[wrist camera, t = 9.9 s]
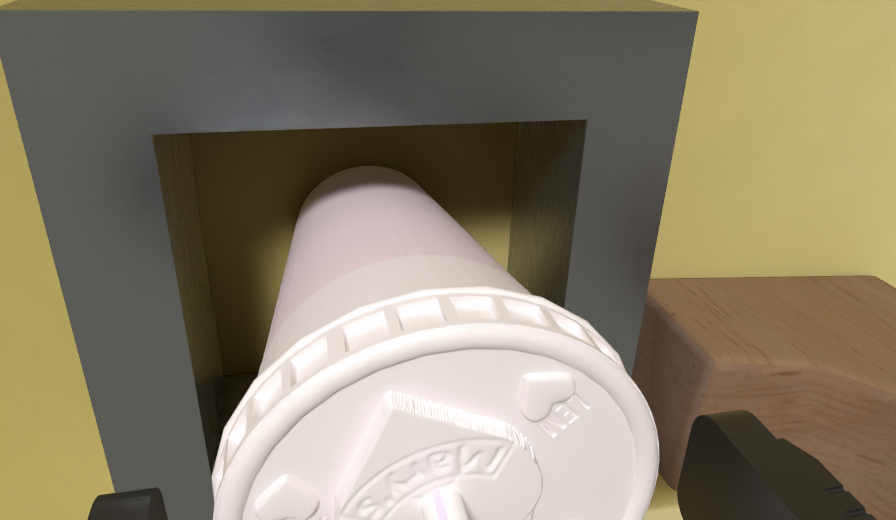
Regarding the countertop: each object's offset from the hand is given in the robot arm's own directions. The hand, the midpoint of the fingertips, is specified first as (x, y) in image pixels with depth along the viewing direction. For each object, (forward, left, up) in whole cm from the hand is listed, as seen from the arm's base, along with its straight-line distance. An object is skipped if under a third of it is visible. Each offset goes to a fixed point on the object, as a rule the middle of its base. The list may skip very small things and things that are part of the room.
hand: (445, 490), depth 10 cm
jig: (0, 0, -9) cm, 9 cm away
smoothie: (0, 0, -9) cm, 9 cm away
